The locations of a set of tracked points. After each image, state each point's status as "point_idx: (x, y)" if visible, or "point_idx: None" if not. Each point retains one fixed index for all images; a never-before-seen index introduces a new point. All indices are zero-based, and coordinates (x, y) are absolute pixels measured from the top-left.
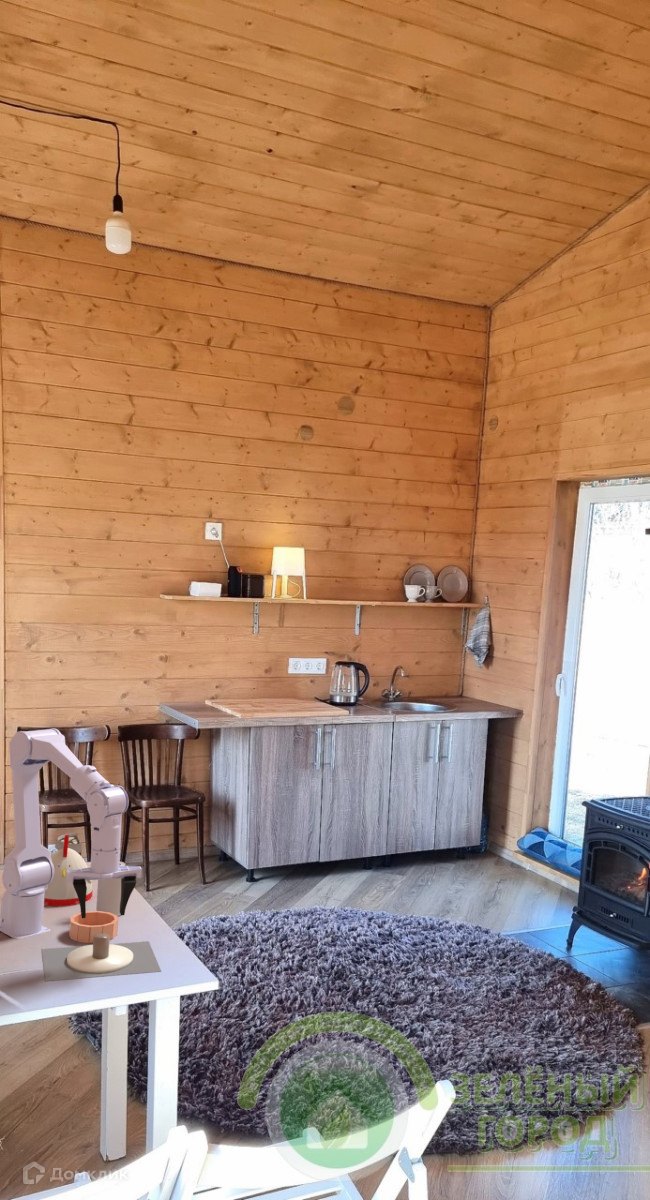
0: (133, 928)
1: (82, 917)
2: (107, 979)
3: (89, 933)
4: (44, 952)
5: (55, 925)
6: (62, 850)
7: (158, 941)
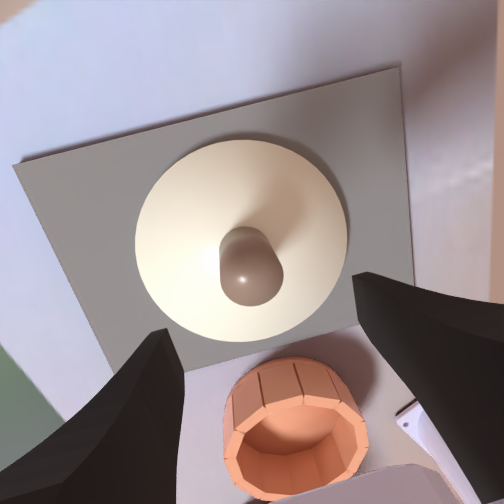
0: (189, 467)
1: (368, 272)
2: (197, 115)
3: (299, 380)
4: None
5: (383, 455)
6: None
7: None
